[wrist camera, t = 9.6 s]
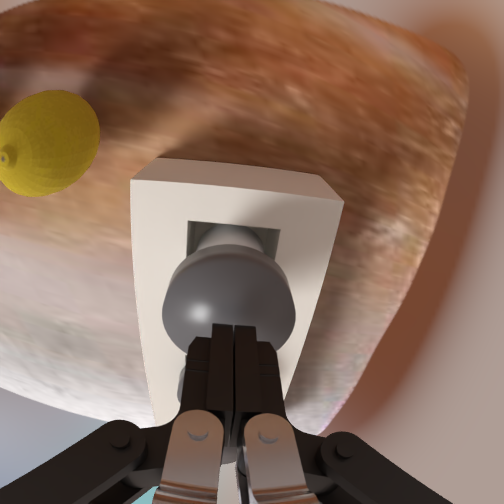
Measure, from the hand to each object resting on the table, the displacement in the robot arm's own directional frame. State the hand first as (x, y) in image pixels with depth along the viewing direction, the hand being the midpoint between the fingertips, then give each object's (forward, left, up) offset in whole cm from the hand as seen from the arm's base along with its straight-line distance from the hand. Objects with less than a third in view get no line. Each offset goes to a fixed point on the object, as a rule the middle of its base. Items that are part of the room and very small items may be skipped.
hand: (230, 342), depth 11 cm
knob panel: (+6, -6, -11) cm, 14 cm away
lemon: (-11, -3, -11) cm, 16 cm away
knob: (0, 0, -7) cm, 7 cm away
